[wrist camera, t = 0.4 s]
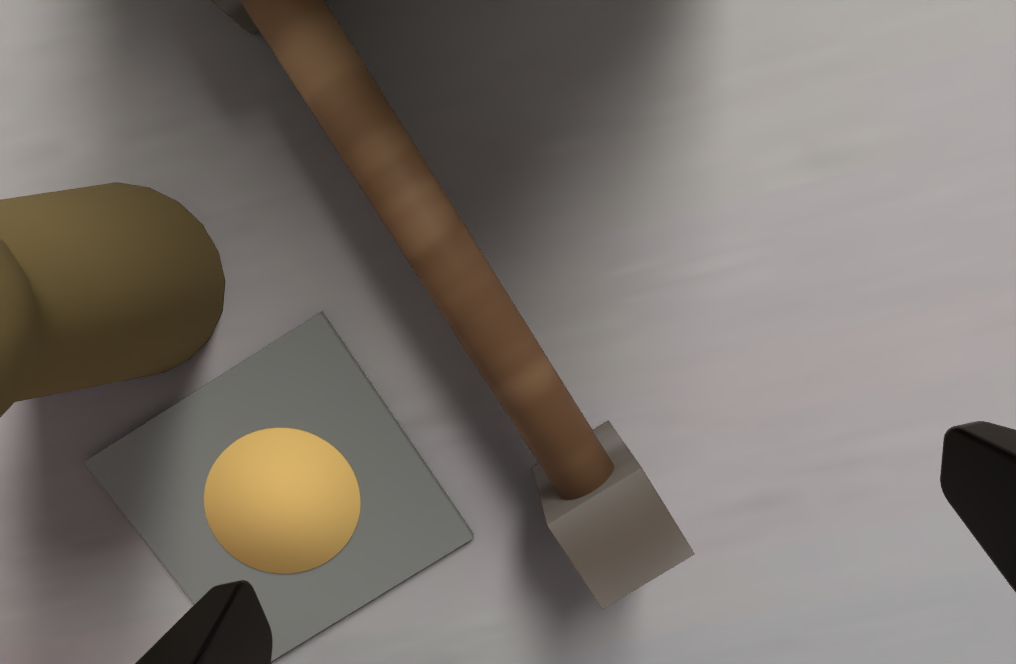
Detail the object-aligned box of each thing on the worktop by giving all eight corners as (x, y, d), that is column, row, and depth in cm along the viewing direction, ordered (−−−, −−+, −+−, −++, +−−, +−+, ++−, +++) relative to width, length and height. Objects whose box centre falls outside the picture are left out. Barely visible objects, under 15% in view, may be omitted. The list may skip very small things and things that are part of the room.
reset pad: (473, 533, 23) (473, 539, 23) (252, 669, 23) (248, 676, 23) (322, 311, 22) (319, 313, 21) (88, 459, 22) (81, 463, 21)
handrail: (652, 491, 23) (694, 553, 19) (577, 537, 23) (602, 609, 19) (277, -117, 20) (222, -214, 15) (190, -60, 20) (111, -139, 15)
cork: (-14, 303, 21) (-532, 391, 10) (90, 141, 20) (-342, 49, 10) (158, 413, 22) (-150, 603, 11) (263, 259, 21) (46, 299, 10)
